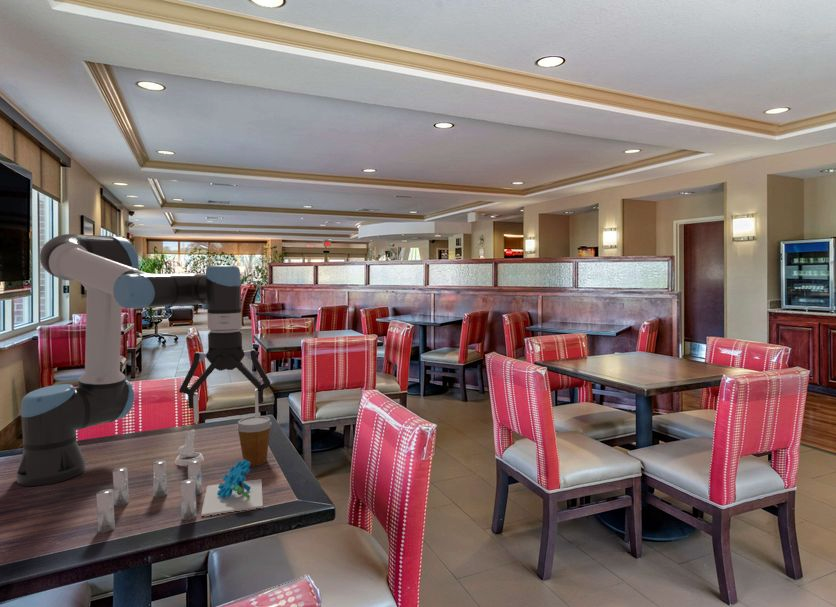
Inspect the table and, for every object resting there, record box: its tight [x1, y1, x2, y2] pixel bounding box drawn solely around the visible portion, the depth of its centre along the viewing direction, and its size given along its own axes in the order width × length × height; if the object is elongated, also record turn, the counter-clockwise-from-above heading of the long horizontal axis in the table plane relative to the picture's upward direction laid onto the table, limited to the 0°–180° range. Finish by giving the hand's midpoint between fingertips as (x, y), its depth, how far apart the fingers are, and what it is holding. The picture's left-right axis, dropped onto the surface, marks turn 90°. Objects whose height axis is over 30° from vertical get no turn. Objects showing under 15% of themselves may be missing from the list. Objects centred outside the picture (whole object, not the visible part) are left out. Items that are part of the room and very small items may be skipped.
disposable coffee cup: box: [236, 415, 272, 467], centre depth 146 cm, size 10×10×12 cm
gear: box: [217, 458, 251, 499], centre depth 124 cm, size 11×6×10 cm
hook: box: [174, 429, 205, 467], centre depth 146 cm, size 8×12×7 cm
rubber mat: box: [200, 478, 264, 517], centre depth 123 cm, size 13×16×1 cm
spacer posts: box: [96, 459, 203, 534], centre depth 118 cm, size 19×18×8 cm
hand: (227, 419), depth 123 cm, fingers open, 13 cm apart
